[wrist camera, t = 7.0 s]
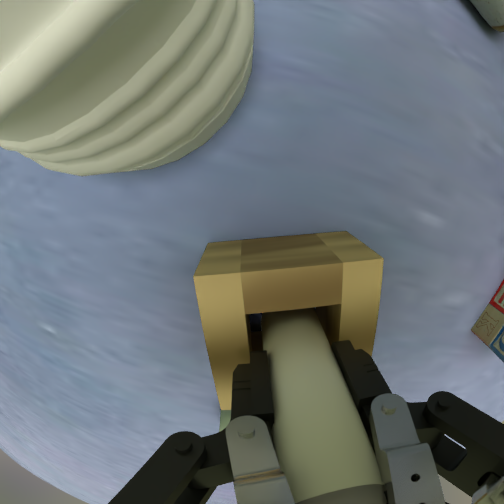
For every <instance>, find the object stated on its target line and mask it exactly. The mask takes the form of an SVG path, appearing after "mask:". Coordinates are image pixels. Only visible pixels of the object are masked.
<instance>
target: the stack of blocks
mask: <svg viewBox="0 0 504 504" xmlns="http://www.w3.org/2000/svg"><path fill="white" fill-rule="evenodd" d="M471 331H472V332H473V333H474V334H475V335H477V336H478V337H479V338H480V339H481V340H482V341H483V342H484V343H485V344H486V345H487V346H488V347H489V348H490V349H491V350H492V351H493V352H494V353H495V354H496V355H497V356H498V357H499V358H500V359H501V360H502V361H503V362H504V280H503V281H502V283H501V285H500V286H499V288H498V290H497V291H496V293H495V295H494V296H493V298H492V300H491V301H490V303H489V304H488V306H487V307H486V309H485V310H484V312H483V313H482V314H481V316H480V317H479V319H478V320H477V322H476V323H475V325H474V326H473V327H472V329H471Z"/></svg>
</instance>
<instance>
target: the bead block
mask: <svg viewBox="0 0 504 504" xmlns="http://www.w3.org/2000/svg"><path fill="white" fill-rule="evenodd" d="M383 259H384V258H382V257H381V256H380V255H378V254H377V253H376V252H374V251H373V250H372V249H370V248H369V247H368V246H366V245H365V244H364V243H362V242H361V241H359V240H358V239H357V238H355V237H354V236H352V235H351V234H350V233H348V232H347V231H341V232H328V233H316V234H304V235H292V236H280V237H268V238H257V239H245V240H234V241H223V242H213V243H208V244H207V247H206V249H205V251H204V253H203V256H202V258H201V260H200V262H199V265H198V267H197V269H196V271H195V274H194V276H193V278H194V283H195V289H196V295H197V300H198V306H199V311H200V316H201V322H202V327H203V332H204V337H205V342H206V346H207V351H208V356H209V360H210V365H211V369H212V374H213V378H214V383H215V387H216V391H217V395H218V399H219V403H220V407H221V410H231V401H232V378H233V371H234V370H235V368H236V367H237V365H238V364H247V363H250V352H251V351H263V342H262V332H261V331H255V332H251V326H250V317H249V314H254V313H265V312H275V311H285V310H295V309H304V308H312V307H316V314H317V317H318V319H319V321H320V323H321V326H322V328H323V330H324V332H325V335H326V337H327V339H328V341H329V344H330V346H331V345H332V342H337V341H343V340H350V341H351V343H352V345H353V347H354V349H355V350H357V349H363V350H364V351H365V352H367V353H368V354H370V356H371V357H372V351H373V345H374V339H375V333H376V326H377V319H378V311H379V303H380V294H381V284H382V273H383Z"/></svg>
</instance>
